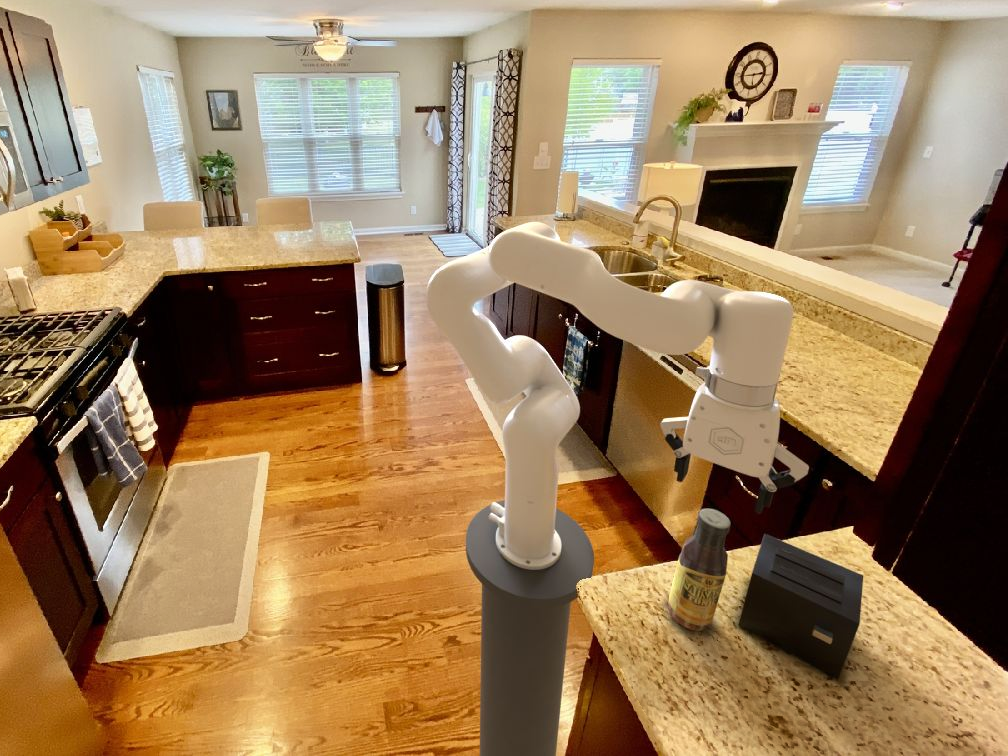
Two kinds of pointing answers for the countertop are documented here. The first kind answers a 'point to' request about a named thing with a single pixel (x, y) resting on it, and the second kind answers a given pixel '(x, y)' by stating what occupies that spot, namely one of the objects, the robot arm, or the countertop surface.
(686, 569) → the sauce bottle
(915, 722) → the countertop surface
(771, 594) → the toaster
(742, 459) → the robot arm
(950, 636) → the countertop surface
